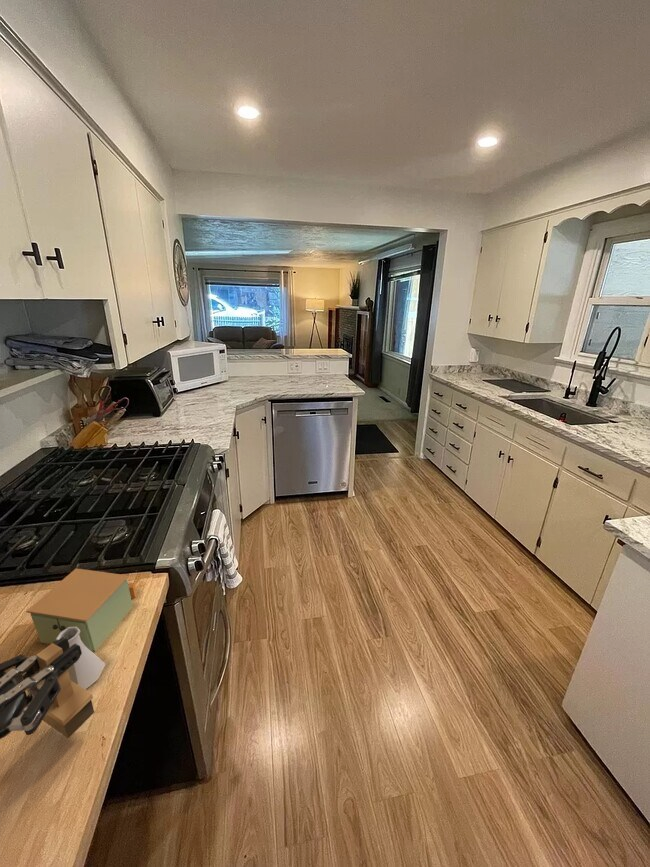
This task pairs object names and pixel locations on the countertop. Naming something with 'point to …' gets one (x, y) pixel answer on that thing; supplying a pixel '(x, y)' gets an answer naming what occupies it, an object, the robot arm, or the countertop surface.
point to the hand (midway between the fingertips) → (72, 645)
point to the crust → (132, 590)
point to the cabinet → (83, 607)
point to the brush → (65, 698)
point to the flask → (82, 660)
